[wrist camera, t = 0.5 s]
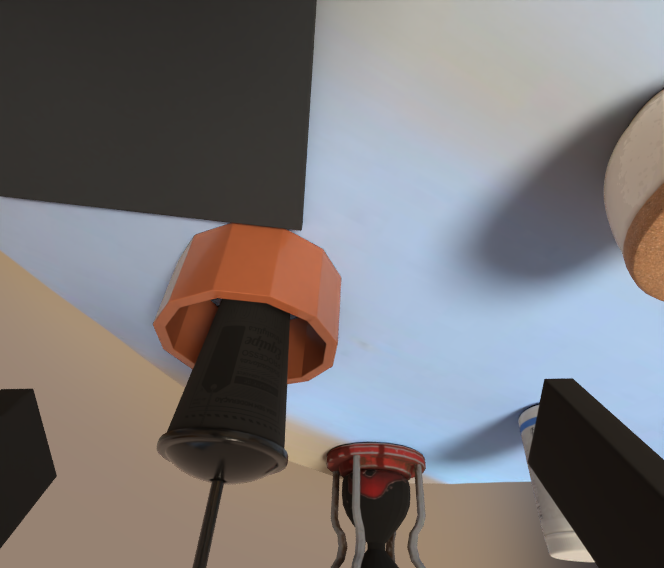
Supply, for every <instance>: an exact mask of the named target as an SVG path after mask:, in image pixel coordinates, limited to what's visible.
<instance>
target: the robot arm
mask: <svg viewBox="0 0 664 568" xmlns="http://www.w3.org/2000/svg"><path fill="white" fill-rule="evenodd" d="M527 463H528V464H529V466H530V467H531V469H532V470H533V472H534V473H535V474H536V476H537V477H538V479H539V480H540V482H541V483H542V485H543V486H544V488H545V489H546V491H547V492H548V494H549V495H550V497H551V498H552V499H553V501H554V502H555V504H556V505H557V507H558V508H559V510H560V511H561V513H562V514H563V516H564V517H565V519H566V520H567V522H568V523H569V525H570V526H571V527H572V529H573V530H574V532H575V533H576V535H577V536H578V538H579V539H580V541H581V542H582V544H583V545H584V547H585V548H586V550H587V551H588V553H589V554H590V555H591V557H592V558H593V560H594V561H595V563H596V564H597V566H598V567H599V568H664V460H663V459H662V458H661V457H660V456H659V455H658V454H657V453H656V452H654V451H653V450H652V449H651V448H650V447H649V446H648V445H647V444H645V443H644V442H643V441H642V440H641V439H640V438H639V437H638V436H636V435H635V434H634V433H633V432H632V431H631V430H630V429H629V428H628V427H626V426H625V425H624V424H623V423H622V422H621V421H620V420H619V419H617V418H616V417H615V416H614V415H613V414H612V413H611V412H610V411H608V410H607V409H606V408H605V407H604V406H603V405H602V404H601V403H600V402H598V401H597V400H596V399H595V398H594V397H593V396H592V395H591V394H589V393H588V392H587V391H586V390H585V389H584V388H583V387H582V386H580V385H579V384H578V383H577V382H576V381H575V380H574V379H573V378H572V379H544V384H543V389H542V394H541V399H540V404H539V408H538V413H537V418H536V423H535V428H534V433H533V438H532V443H531V448H530V453H529V457H528V462H527ZM56 476H57V475H56V471H55V468H54V464H53V460H52V457H51V453H50V449H49V445H48V442H47V438H46V434H45V431H44V427H43V423H42V420H41V416H40V412H39V409H38V405H37V401H36V398H35V394H34V390H33V389H1V390H0V548H1V547H2V545H3V544H4V543H5V542H6V541H7V539H8V538H9V537H10V535H11V534H12V533H13V531H14V530H15V529H16V527H17V526H18V525H19V524H20V523H21V521H22V520H23V519H24V517H25V516H26V515H27V514H28V512H29V511H30V510H31V508H32V507H33V506H34V505H35V503H36V502H37V501H38V499H39V498H40V497H41V496H42V494H43V493H44V491H45V490H46V489H47V488H48V487H49V485H50V484H51V483H52V481H53V480H54V479H55V478H56Z"/></svg>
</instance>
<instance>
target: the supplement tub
mask: <svg viewBox="0 0 664 568" xmlns="http://www.w3.org/2000/svg"><path fill="white" fill-rule="evenodd" d="M538 408H539V405H537V406H533V407H531V408H529V409H527V410H526V411H524V412H523V413H522V414H521V416H520V417H519V428H520V432H521V437H522V441H523V446H524V450H525V455H526V460H527V462H528V457H529V453H530V448H531V443H532V438H533V433H534V428H535V423H536V418H537V413H538ZM527 464H528V463H527ZM528 468H529V473H530V477H531V482H532V486H533V491H534V495H535V500H536V504H537V509H538V513H539V518H540V522H541V526H542V530H543V534H544V536H545V538H544V539H545V541H546V543H547V547H548V551H549V554H550V556H552V557H553V558H557V559H562V560H570V561H581V562H595V561H594V560H593V558H592V557H591V555H590V554H589V553H588V551H587V550H586V548H585V547H584V545H583V544H582V542H581V541H580V539H579V538H578V536H577V535H576V533H575V532H574V530H573V529H572V527H571V526H570V525H569V523H568V522H567V520H566V519H565V517H564V516H563V514H562V513H561V511H560V510H559V508H558V507H557V505H556V504H555V502H554V501H553V499H552V498H551V497H550V495H549V494H548V492H547V491H546V489H545V488H544V486H543V485H542V483H541V482H540V480H539V479H538V477H537V476H536V474H535V473H534V472H533V470H532V469H531V467H530V466H529V464H528Z"/></svg>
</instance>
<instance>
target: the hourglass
mask: <svg viewBox="0 0 664 568" xmlns="http://www.w3.org/2000/svg"><path fill="white" fill-rule="evenodd" d="M327 468H328V469H329V470H330V471H332V472H333V487H332V507H331V521H332V525H333V528H334V530H335V532H336V533H337V535H338V545H339V547H338V553H337V558H336V560H335V561H334V563H333V565H332V566H331V568H339V567H340V566H341V564H342V563H343V562H344V560H345V556H346V551H347V542H346V536H345V533H344V532H343V530H342V529H341V528H340V525H339V521H338V500H339V476H342V477H343V478H344V479H343V484H342V499H343V506H344V508H345V511H346V514H347V516H348V517H349V519H350V520H351V522H352V524H353V525H354V526H355V527H356V549H355V556H354V559H353V562H352V568H399V567H398V566H397V565H396V563H395V555H394V540H395V535H396V530H397V529H398V527H399V526H400V525H401V523H402V521H403V520H404V518H405V517H406V515H407V512H408V509H409V506H410V486H409V482H408V480H409V479H410V478H413V477H415V484H416V499H417V513H418V516H417V520H416V523H415V526H414V527H413V529H412V530H411V532H410V534H409V540H408V551H409V555H410V558H411V562H412V563H413V564H414V565H415V567H416V568H425V566H424V565H423V563H422V562H421V561H420V559H419V554H418V550H417V540H418V534H419V532H420V531H421V529H422V527H423V525H424V521H425V505H424V492H423V480H422V473H423V472H424V471H425V469H426V465H425V459H424V457H423V455H422V454H421V453H419V452H418V451H416V450H414V449H411V448H408V447H404V446H400V445H394V444H388V443H354V444H349V445H343V446H340V447H337V448H334V449H332V450H331V451H330V452H329V453H328V454H327ZM366 542H367V543H368V550H367V551H366V552H365V543H366ZM386 542H387V543H386ZM385 543H386V551H385ZM364 552H365V553H364Z"/></svg>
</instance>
